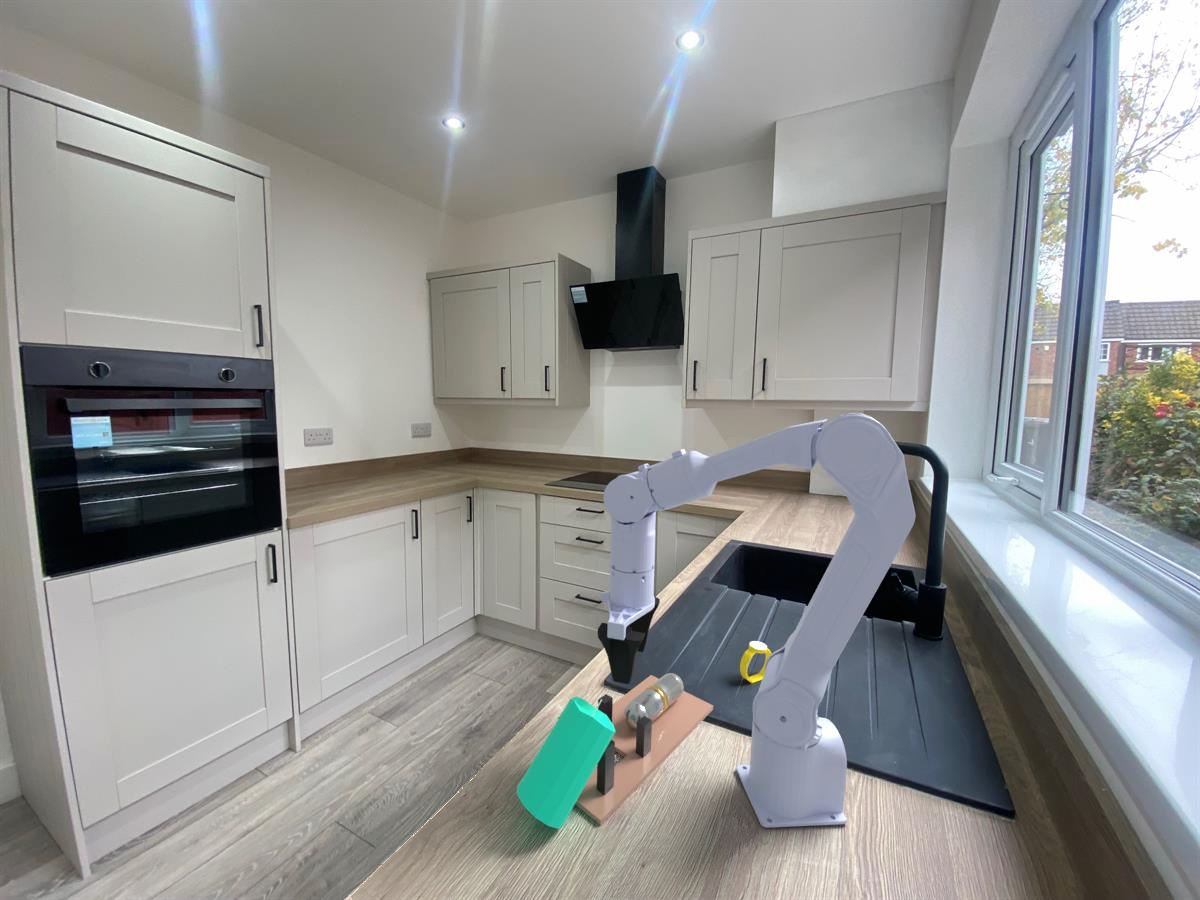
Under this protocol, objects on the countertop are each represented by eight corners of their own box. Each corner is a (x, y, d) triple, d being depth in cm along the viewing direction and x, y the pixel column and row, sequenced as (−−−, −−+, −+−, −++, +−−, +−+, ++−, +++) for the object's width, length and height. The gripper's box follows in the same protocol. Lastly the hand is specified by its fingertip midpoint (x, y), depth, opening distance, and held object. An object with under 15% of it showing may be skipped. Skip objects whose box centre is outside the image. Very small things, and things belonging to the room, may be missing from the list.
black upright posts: (605, 722, 64) (606, 684, 63) (650, 750, 59) (652, 709, 58) (557, 760, 57) (558, 717, 56) (604, 795, 52) (605, 749, 51)
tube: (667, 687, 72) (667, 664, 71) (687, 697, 69) (688, 674, 69) (618, 727, 63) (618, 702, 62) (640, 741, 60) (641, 715, 60)
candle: (537, 786, 53) (595, 688, 56) (572, 828, 49) (632, 720, 52) (506, 783, 49) (571, 678, 52) (542, 829, 45) (609, 712, 48)
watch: (761, 672, 78) (765, 638, 77) (774, 681, 75) (779, 646, 75) (734, 678, 75) (738, 643, 75) (747, 688, 73) (751, 652, 72)
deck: (651, 678, 75) (651, 674, 75) (713, 709, 68) (713, 705, 68) (532, 769, 56) (532, 764, 56) (600, 825, 49) (600, 820, 49)
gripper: (617, 545, 68) (615, 633, 69) (583, 581, 54) (581, 690, 56) (665, 550, 66) (662, 641, 67) (642, 590, 52) (639, 703, 53)
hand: (629, 664), depth 61 cm, fingers open, 7 cm apart
